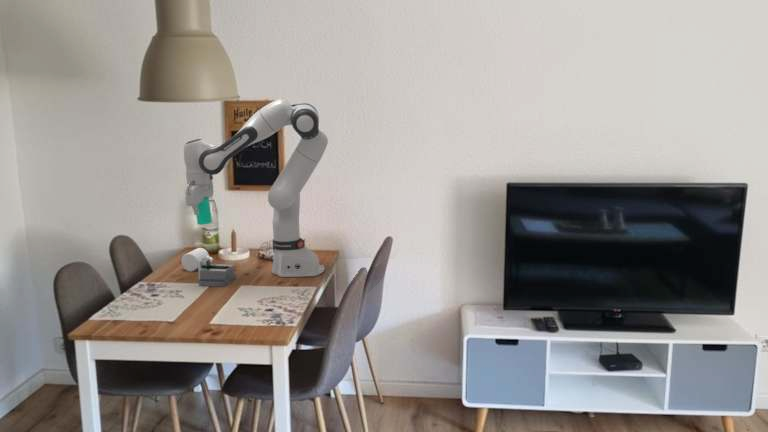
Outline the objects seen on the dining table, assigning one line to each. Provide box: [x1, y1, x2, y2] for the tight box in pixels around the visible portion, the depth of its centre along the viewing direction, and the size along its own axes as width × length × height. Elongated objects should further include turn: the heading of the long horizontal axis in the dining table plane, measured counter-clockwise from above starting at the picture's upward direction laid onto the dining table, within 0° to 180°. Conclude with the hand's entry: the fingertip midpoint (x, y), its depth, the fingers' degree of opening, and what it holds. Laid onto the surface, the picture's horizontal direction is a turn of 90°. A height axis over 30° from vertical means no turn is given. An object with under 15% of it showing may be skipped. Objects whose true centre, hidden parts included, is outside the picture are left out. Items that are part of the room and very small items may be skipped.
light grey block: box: [197, 258, 211, 280], centre depth 305 cm, size 9×6×7 cm, turn 80°
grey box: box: [198, 263, 237, 288], centre depth 305 cm, size 11×12×6 cm
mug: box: [181, 247, 214, 272], centre depth 325 cm, size 12×10×8 cm
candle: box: [195, 197, 213, 226], centre depth 310 cm, size 6×6×12 cm
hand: (201, 212), depth 309 cm, fingers open, 8 cm apart
